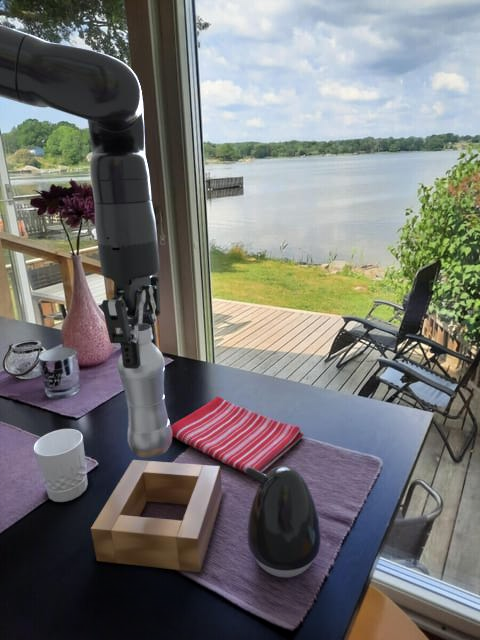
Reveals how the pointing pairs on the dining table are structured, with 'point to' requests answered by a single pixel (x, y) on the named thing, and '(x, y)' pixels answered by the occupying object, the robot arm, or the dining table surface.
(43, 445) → the white cup
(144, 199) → the robot arm
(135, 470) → the holder
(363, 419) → the dining table surface
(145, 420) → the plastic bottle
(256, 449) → the dish towel
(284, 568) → the pump dispenser
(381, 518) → the dining table surface
